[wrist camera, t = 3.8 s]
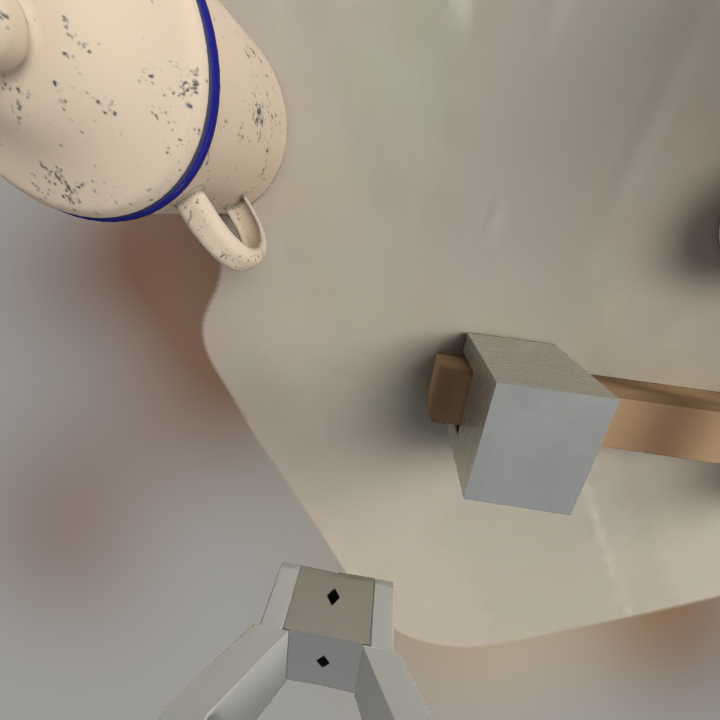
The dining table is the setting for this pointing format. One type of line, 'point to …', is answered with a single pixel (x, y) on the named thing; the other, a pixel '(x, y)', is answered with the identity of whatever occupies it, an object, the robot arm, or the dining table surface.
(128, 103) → the teacup with lid
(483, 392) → the block
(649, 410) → the rail
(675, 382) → the dining table surface
